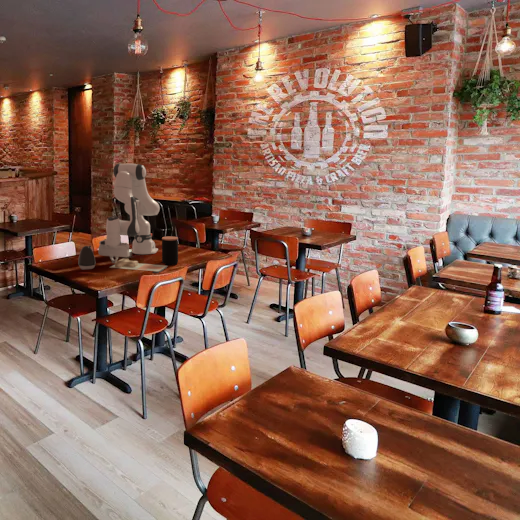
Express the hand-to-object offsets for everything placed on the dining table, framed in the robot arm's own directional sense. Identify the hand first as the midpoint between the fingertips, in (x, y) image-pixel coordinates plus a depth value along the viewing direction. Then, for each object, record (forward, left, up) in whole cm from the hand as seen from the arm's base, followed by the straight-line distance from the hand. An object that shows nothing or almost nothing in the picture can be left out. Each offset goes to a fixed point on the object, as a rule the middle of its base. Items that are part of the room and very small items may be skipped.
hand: (114, 262), depth 301 cm
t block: (0, +9, -1) cm, 9 cm away
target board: (0, +17, -2) cm, 17 cm away
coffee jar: (-18, +31, -2) cm, 36 cm away
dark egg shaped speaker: (+13, -12, -2) cm, 18 cm away
